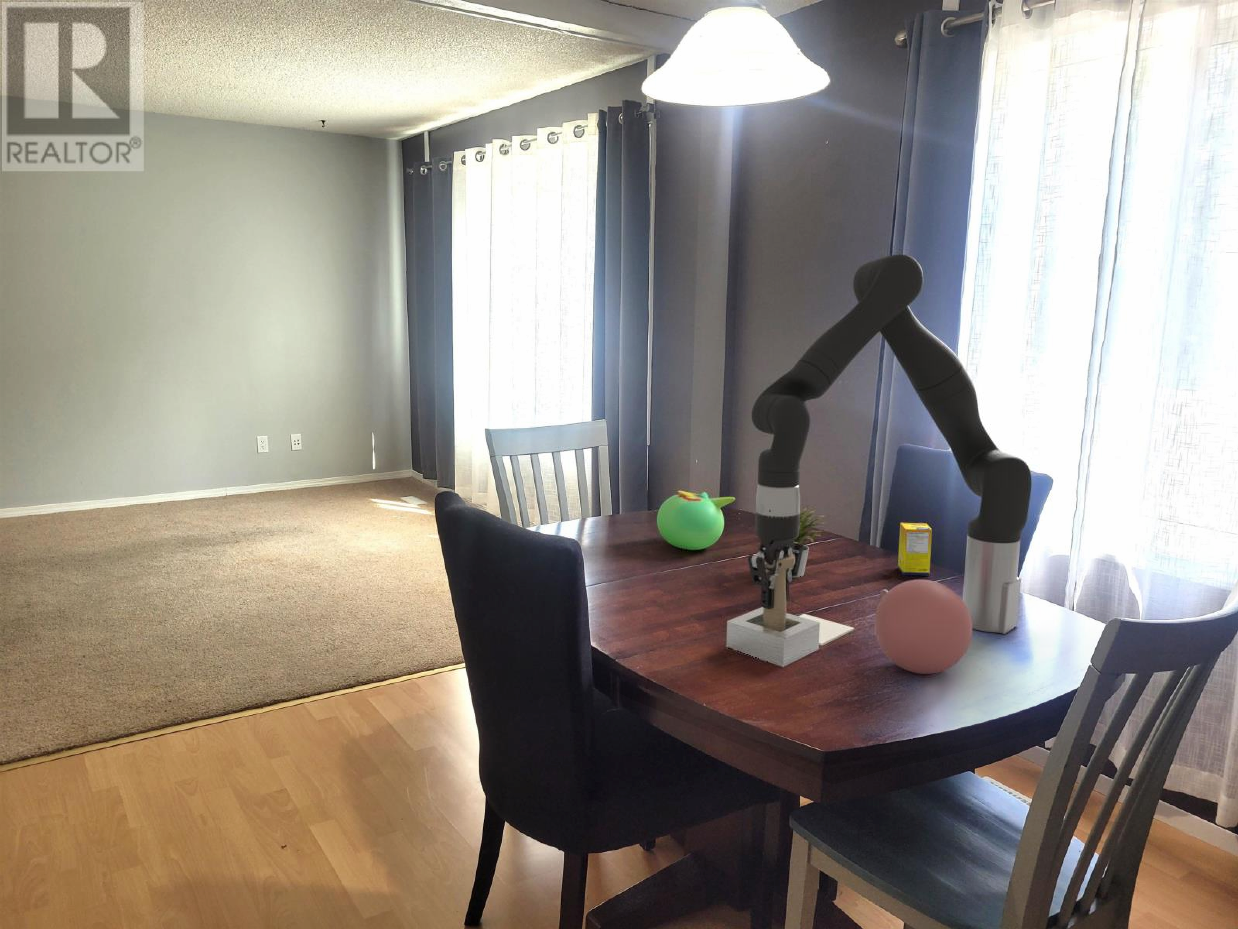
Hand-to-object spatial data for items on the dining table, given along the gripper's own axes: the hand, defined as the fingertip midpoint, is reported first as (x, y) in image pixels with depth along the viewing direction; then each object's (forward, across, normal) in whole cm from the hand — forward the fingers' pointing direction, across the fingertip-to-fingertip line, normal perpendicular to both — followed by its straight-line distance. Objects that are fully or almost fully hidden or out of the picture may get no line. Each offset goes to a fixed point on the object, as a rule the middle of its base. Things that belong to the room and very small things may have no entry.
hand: (775, 604), depth 157 cm
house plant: (+9, +39, +22) cm, 45 cm away
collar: (+8, 0, 0) cm, 8 cm away
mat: (+8, +13, 0) cm, 15 cm away
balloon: (+9, +11, -21) cm, 25 cm away
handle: (+6, 0, 0) cm, 6 cm away
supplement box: (+9, +61, +4) cm, 62 cm away
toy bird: (+8, +41, +53) cm, 68 cm away
